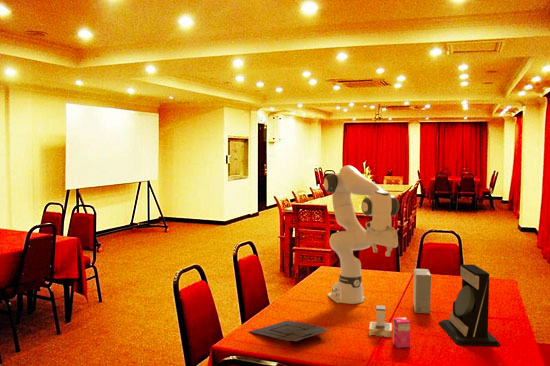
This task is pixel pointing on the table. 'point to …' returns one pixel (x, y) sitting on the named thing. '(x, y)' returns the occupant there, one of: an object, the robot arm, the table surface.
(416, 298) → the hard drive box
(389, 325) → the oak stand
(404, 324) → the supplement box
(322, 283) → the table surface
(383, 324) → the plate
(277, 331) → the dark grey panelled slab
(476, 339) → the award
